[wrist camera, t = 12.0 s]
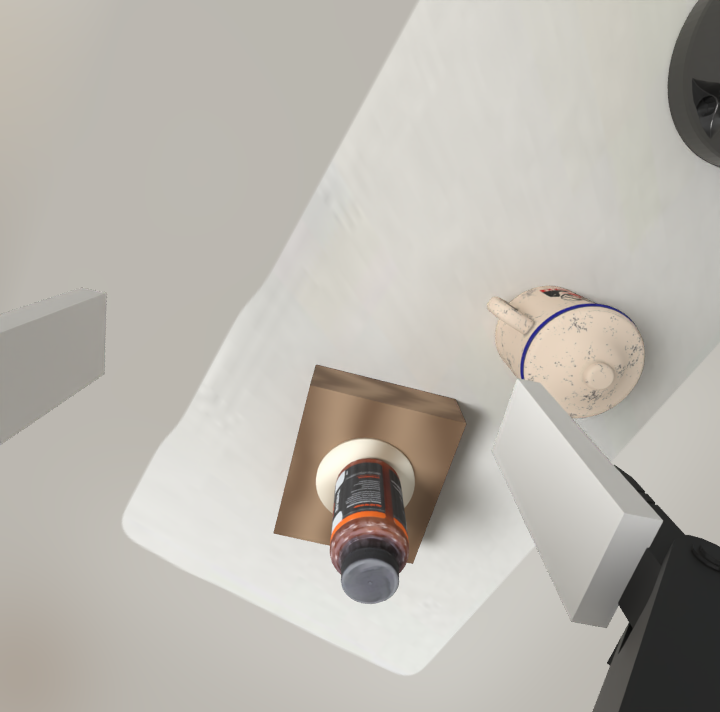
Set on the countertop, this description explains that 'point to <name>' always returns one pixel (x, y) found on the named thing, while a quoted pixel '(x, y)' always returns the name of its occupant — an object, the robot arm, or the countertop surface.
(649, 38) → the countertop surface
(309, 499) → the walnut stand
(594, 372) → the cream ceramic oval pot
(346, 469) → the supplement bottle
